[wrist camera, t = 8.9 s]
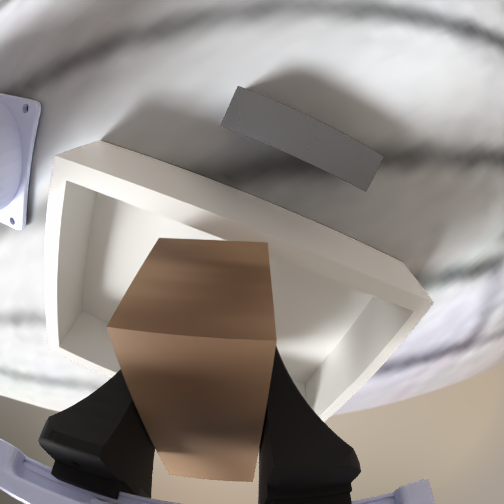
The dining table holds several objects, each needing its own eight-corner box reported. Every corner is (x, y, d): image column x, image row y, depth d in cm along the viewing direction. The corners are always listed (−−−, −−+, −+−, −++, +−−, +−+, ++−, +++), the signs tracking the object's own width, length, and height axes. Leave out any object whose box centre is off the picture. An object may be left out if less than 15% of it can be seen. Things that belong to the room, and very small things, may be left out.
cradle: (227, 122, 13) (220, 126, 10) (341, -91, 6) (355, -117, 4) (344, 174, 14) (365, 191, 11) (437, -37, 7) (465, -52, 5)
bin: (75, 309, 18) (49, 349, 14) (99, 140, 13) (54, 155, 9) (307, 386, 21) (314, 430, 17) (402, 262, 16) (433, 302, 12)
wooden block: (182, 398, 15) (169, 474, 11) (159, 237, 11) (106, 327, 6) (252, 403, 16) (252, 481, 11) (267, 242, 11) (276, 340, 6)
